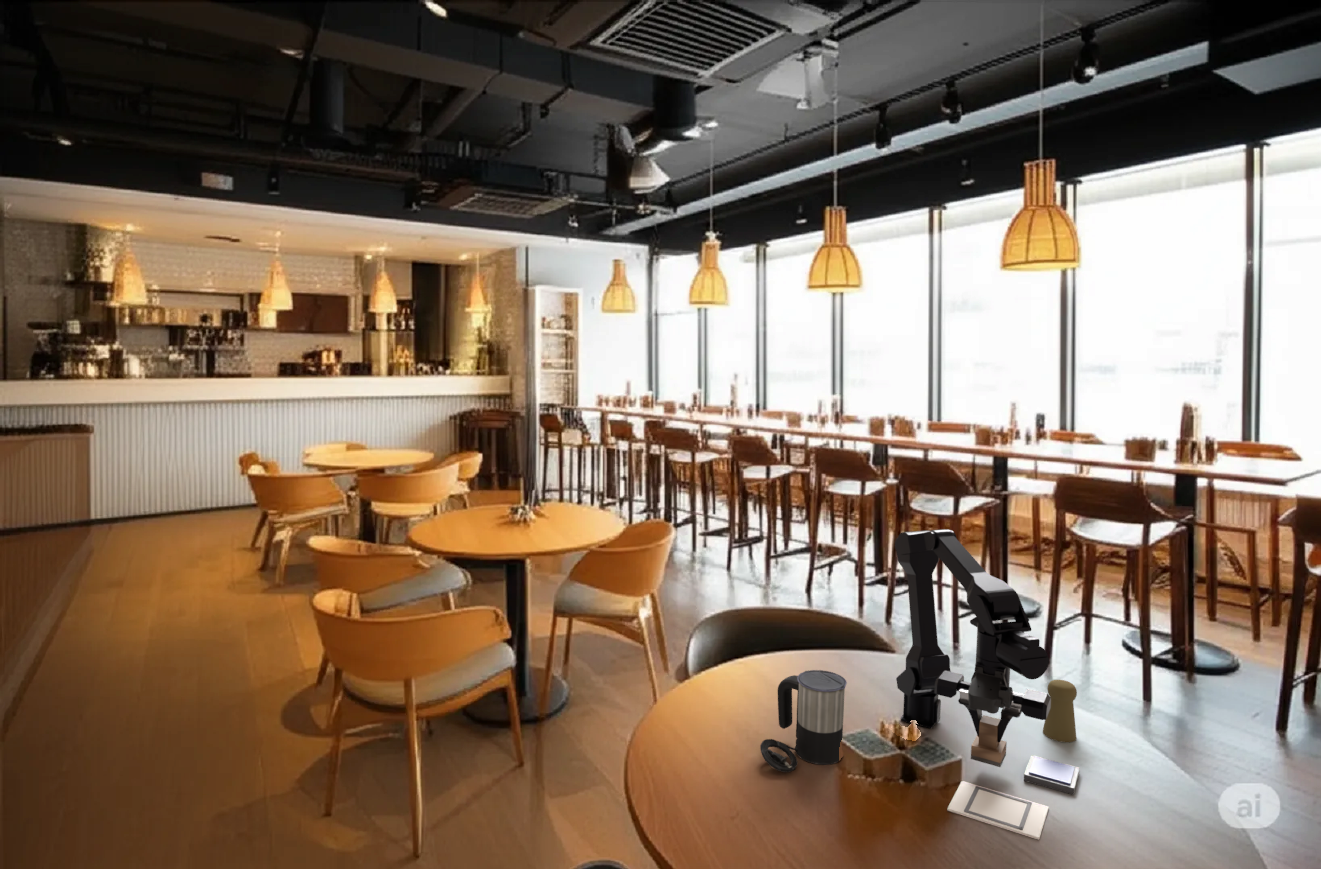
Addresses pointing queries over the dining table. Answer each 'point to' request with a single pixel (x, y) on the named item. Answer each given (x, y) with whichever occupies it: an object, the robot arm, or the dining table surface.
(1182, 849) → the dining table surface
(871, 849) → the dining table surface
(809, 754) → the milk frother
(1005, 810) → the print card
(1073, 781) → the ink pad
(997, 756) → the stamp
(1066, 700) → the cork
